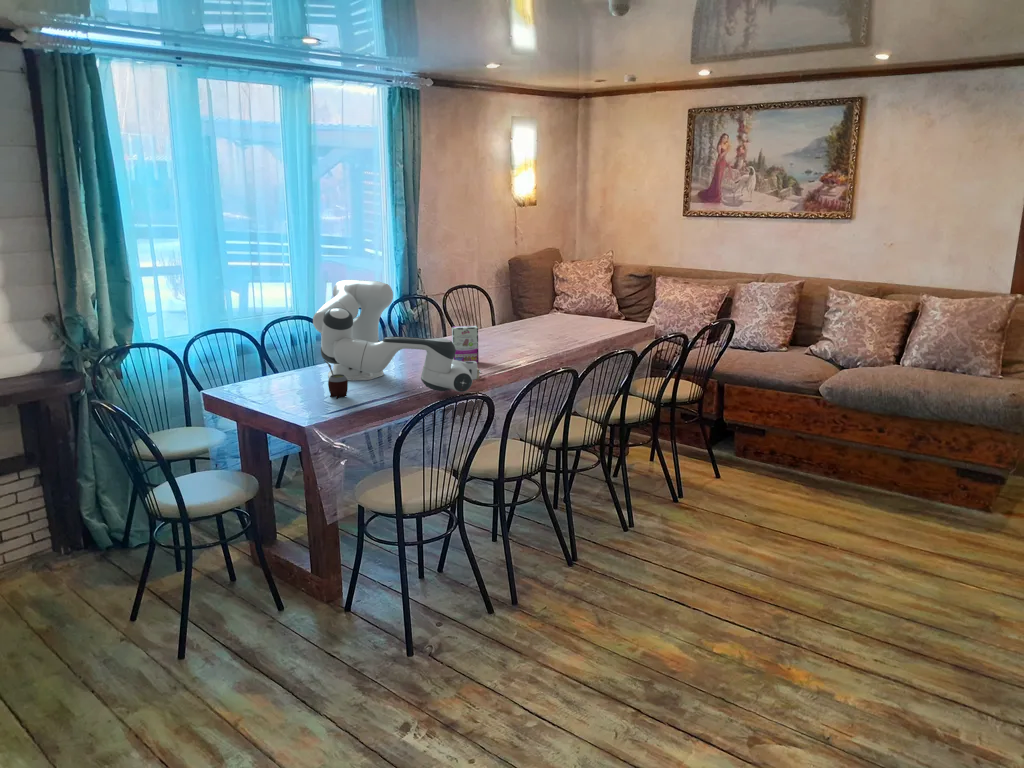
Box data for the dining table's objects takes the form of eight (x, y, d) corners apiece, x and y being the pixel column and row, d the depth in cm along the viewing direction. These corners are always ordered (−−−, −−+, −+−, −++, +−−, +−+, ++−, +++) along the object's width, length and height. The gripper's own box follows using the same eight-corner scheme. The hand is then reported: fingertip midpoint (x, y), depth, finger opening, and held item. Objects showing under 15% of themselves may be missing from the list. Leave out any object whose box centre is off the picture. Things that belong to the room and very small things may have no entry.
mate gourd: (349, 394, 288) (347, 355, 284) (346, 400, 280) (344, 360, 276) (329, 394, 287) (327, 355, 283) (325, 400, 280) (323, 360, 276)
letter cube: (469, 379, 310) (469, 369, 309) (467, 377, 314) (467, 367, 313) (479, 379, 311) (479, 369, 310) (477, 376, 315) (477, 366, 314)
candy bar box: (477, 361, 341) (476, 325, 336) (478, 364, 336) (478, 327, 332) (452, 362, 339) (451, 325, 334) (453, 365, 334) (453, 328, 330)
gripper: (427, 381, 285) (421, 372, 298) (480, 378, 290) (473, 370, 303) (426, 365, 283) (421, 357, 296) (480, 362, 289) (472, 354, 301)
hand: (447, 363), depth 300 cm, fingers open, 8 cm apart
